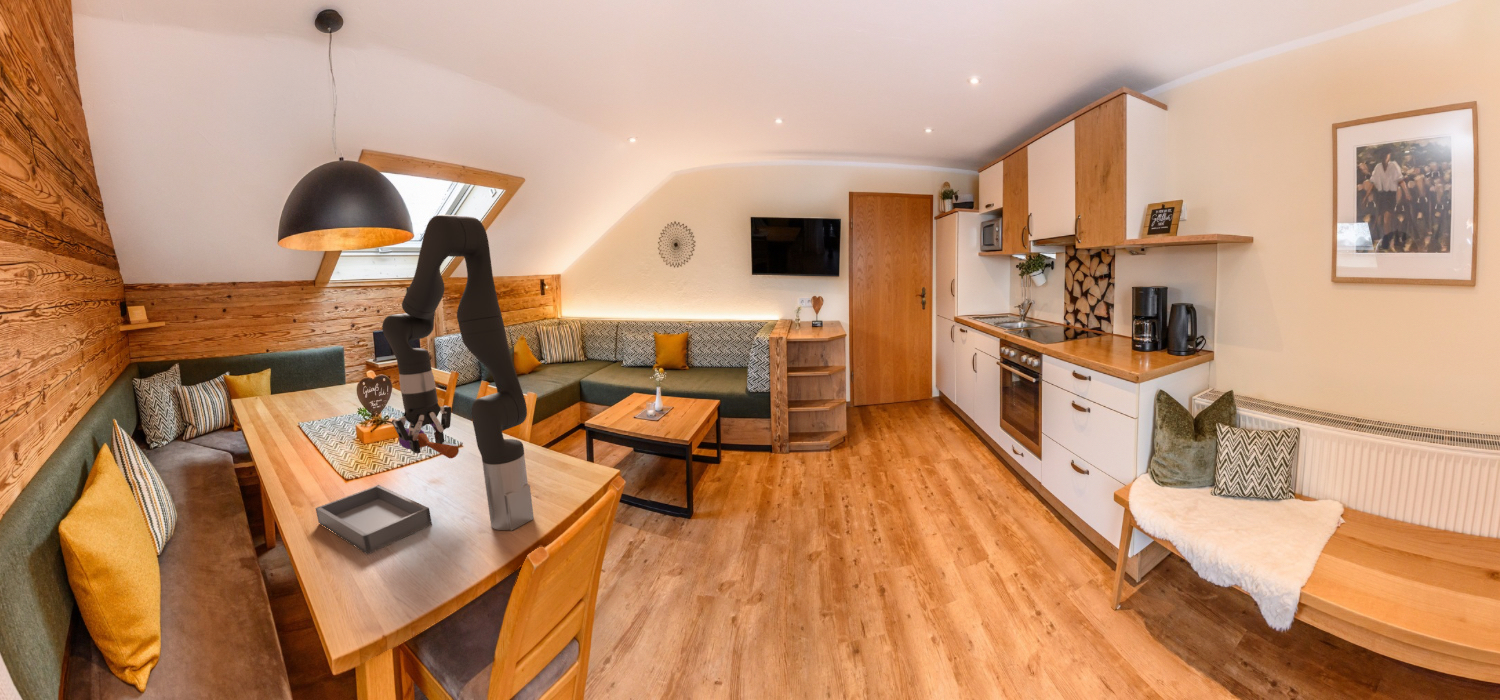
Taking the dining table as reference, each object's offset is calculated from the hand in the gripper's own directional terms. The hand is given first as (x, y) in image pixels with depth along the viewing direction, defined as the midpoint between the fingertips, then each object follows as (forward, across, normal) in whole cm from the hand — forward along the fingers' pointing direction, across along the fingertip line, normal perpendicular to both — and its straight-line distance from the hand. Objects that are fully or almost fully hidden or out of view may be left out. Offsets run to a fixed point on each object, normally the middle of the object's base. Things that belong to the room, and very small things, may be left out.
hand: (428, 448), depth 128 cm
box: (+15, -14, 0) cm, 21 cm away
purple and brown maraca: (+1, 0, 0) cm, 1 cm away
